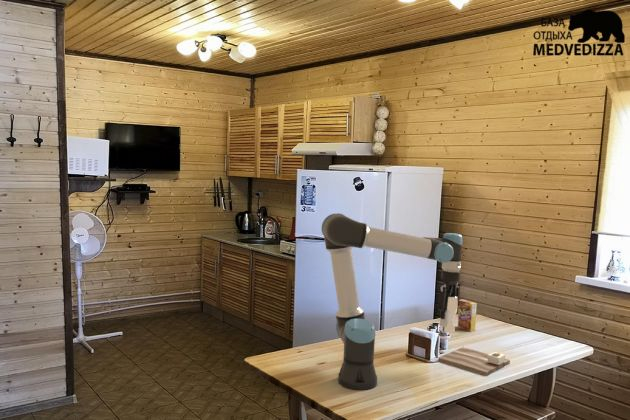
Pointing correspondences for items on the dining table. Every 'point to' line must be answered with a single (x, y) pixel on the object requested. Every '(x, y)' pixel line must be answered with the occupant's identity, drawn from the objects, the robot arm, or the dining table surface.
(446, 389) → the dining table surface
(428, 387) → the dining table surface
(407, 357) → the dining table surface
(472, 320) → the candy box
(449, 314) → the clear glass bottle
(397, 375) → the dining table surface
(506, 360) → the board
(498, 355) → the cream block with hole
